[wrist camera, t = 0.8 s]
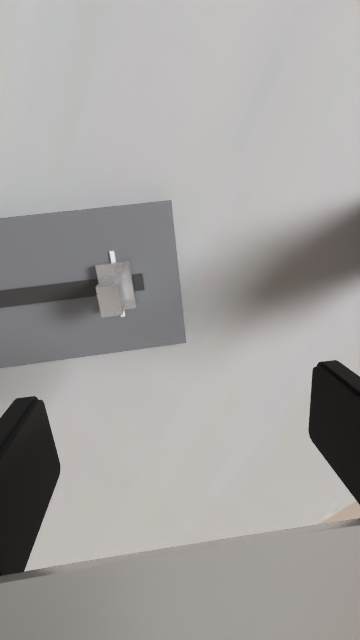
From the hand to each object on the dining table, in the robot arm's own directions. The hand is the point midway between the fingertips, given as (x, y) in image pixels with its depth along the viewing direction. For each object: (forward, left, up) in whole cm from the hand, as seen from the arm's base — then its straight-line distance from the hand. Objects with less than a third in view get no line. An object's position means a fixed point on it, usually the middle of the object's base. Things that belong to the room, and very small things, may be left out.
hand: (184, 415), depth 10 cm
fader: (-1, -4, -19) cm, 20 cm away
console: (-1, -11, -22) cm, 24 cm away
